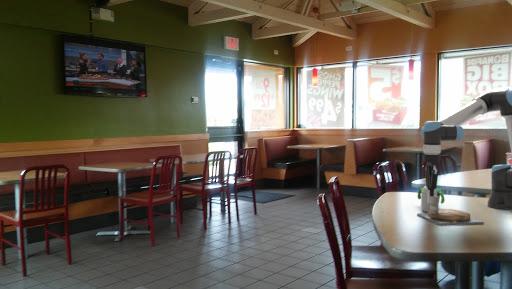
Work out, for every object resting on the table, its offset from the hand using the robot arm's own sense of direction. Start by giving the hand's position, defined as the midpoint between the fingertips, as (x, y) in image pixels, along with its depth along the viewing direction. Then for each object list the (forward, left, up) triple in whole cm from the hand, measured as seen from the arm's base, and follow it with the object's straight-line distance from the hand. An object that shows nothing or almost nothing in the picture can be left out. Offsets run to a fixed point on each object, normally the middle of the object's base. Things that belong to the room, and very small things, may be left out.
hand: (430, 203), depth 200 cm
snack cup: (-14, -27, -8) cm, 31 cm away
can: (-8, -17, -8) cm, 20 cm away
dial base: (-8, +2, -8) cm, 11 cm away
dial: (-7, +2, -6) cm, 10 cm away
